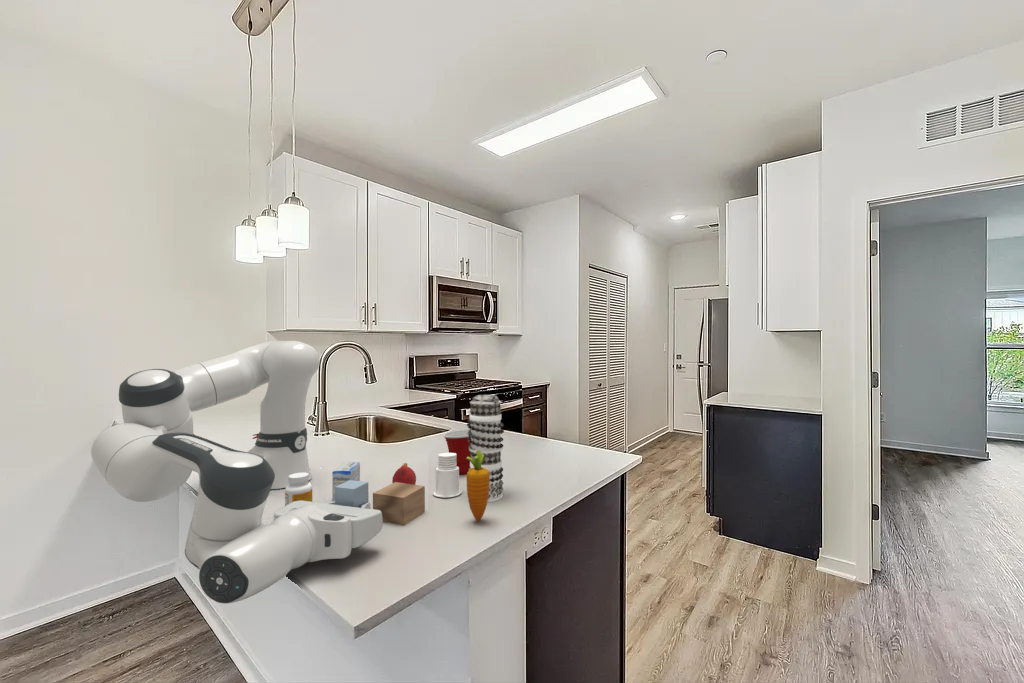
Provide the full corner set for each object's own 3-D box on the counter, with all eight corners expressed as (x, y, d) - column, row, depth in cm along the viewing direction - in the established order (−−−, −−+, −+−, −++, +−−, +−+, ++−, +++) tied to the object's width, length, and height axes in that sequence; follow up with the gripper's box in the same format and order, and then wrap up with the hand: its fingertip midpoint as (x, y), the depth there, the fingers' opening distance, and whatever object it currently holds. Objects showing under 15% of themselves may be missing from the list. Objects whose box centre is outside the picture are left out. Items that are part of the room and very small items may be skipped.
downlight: (459, 499, 108) (459, 457, 109) (430, 499, 108) (430, 458, 109) (463, 489, 116) (463, 451, 117) (436, 489, 116) (436, 451, 117)
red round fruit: (410, 499, 108) (409, 467, 108) (388, 498, 109) (388, 465, 109) (419, 491, 114) (419, 460, 114) (399, 490, 115) (398, 459, 115)
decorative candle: (459, 496, 110) (459, 396, 110) (486, 487, 117) (486, 392, 117) (485, 505, 104) (484, 399, 104) (511, 495, 111) (511, 395, 111)
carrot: (480, 528, 92) (480, 455, 91) (461, 523, 94) (461, 452, 94) (494, 520, 96) (494, 450, 96) (475, 515, 98) (475, 447, 98)
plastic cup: (449, 466, 137) (448, 427, 137) (483, 467, 136) (483, 428, 135) (438, 476, 126) (438, 434, 126) (475, 478, 125) (475, 435, 125)
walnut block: (372, 520, 96) (372, 493, 96) (395, 507, 104) (395, 482, 104) (403, 526, 93) (403, 497, 93) (424, 512, 101) (424, 486, 101)
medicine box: (342, 496, 111) (341, 461, 111) (360, 495, 111) (360, 461, 111) (332, 508, 103) (331, 471, 103) (351, 507, 104) (351, 470, 104)
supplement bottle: (317, 515, 99) (317, 472, 99) (301, 525, 94) (301, 479, 94) (297, 513, 100) (296, 470, 100) (279, 523, 95) (279, 477, 95)
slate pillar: (335, 537, 88) (334, 486, 88) (350, 528, 92) (349, 480, 92) (354, 540, 86) (354, 489, 86) (368, 530, 91) (368, 482, 91)
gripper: (257, 543, 80) (313, 514, 93) (353, 559, 74) (398, 526, 87) (256, 508, 80) (312, 484, 93) (353, 521, 74) (398, 494, 87)
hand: (355, 504), depth 90 cm, fingers closed on slate pillar, 4 cm apart
